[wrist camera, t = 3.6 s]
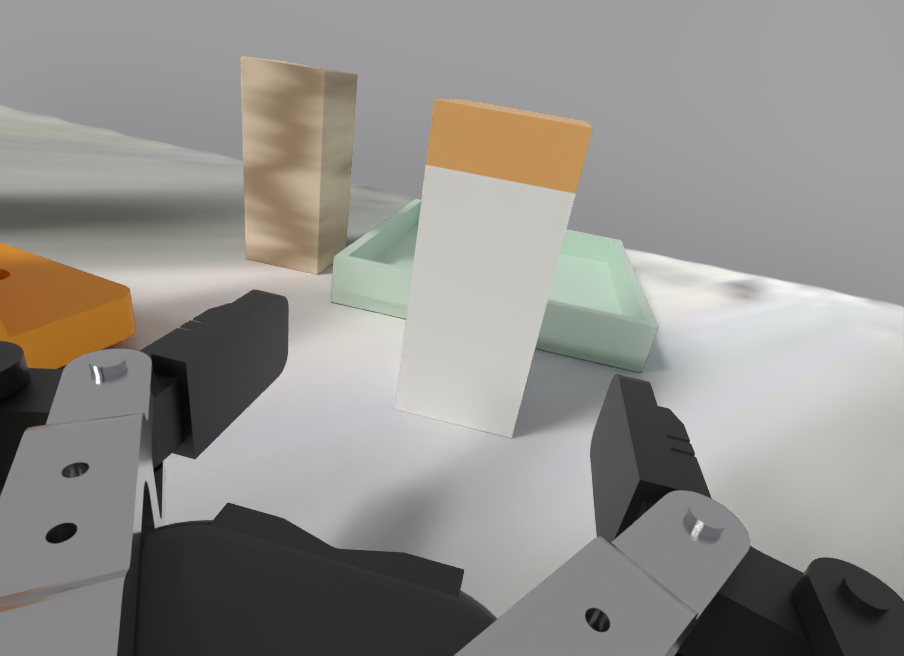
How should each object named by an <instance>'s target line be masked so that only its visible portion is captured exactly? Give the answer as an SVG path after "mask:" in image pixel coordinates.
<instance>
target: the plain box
mask: <svg viewBox="0 0 904 656" xmlns="http://www.w3.org/2000/svg"><path fill="white" fill-rule="evenodd" d="M240 57H241V92H242V128H243V130H242V131H243V167H244V203H245V239H246V259H249V260H254V261H258V262H263V263H267V264H271V265H276V266H280V267H285V268H289V269H294V270H298V271H303V272H307V273H312V274H316V275H317V274H318V273H320V272H321V271H323V270H324V269H325V268H327V267H328V266H329V265H331V264H332V263H333V259H334V256H335V255H336V254H338V253H339V252H341V251H342V250H344V249H345V248H346V245H347V229H348V214H349V199H350V183H351V167H352V152H353V136H354V121H355V105H356V89H357V74H351V73H345V72H339V71H334V70H329V69H323V68H317V67H311V66H306V65H301V64H295V63H289V62H283V61H276V60H268V59H261V58H253V57H245V56H240Z"/></svg>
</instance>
